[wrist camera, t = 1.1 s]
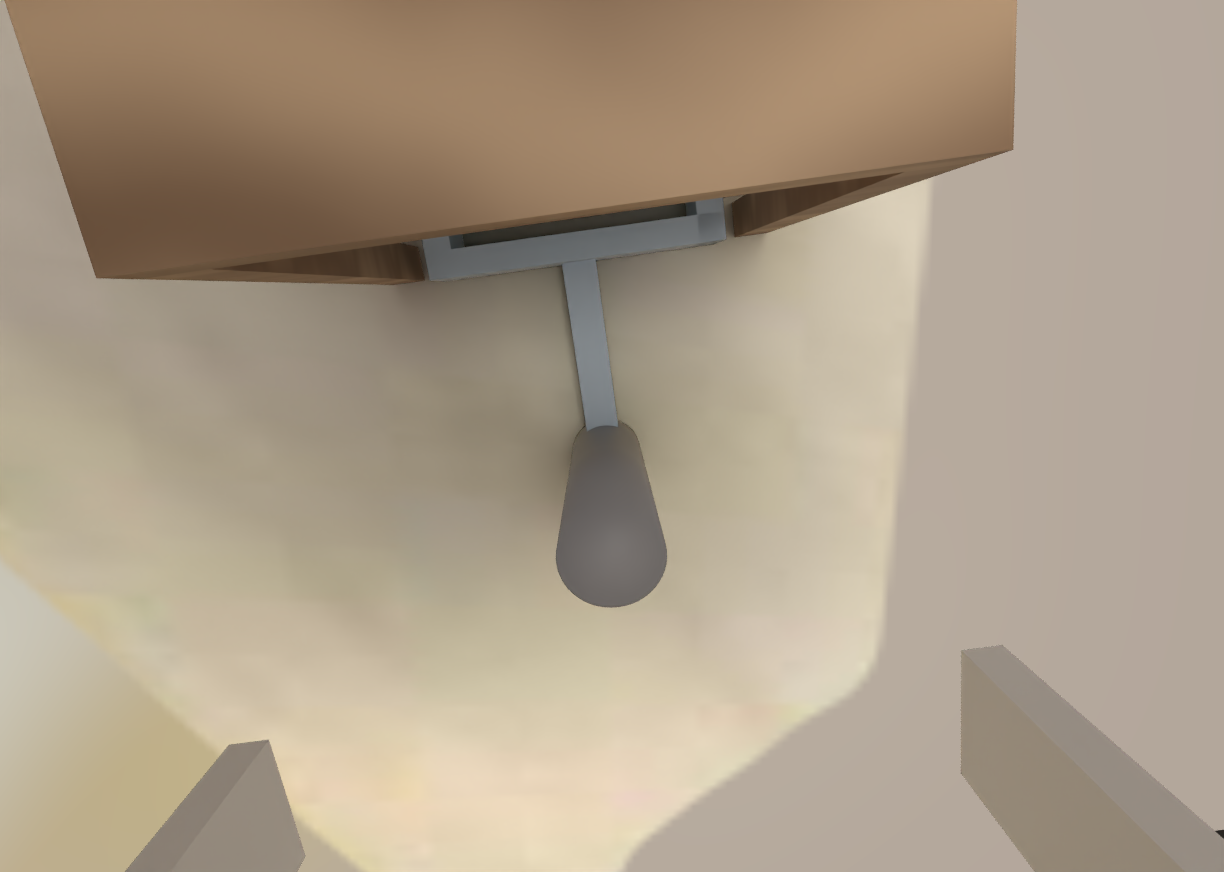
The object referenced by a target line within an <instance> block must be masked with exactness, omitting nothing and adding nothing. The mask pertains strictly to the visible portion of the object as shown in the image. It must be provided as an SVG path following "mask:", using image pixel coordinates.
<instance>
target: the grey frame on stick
mask: <svg viewBox="0 0 1224 872" xmlns="http://www.w3.org/2000/svg"><path fill="white" fill-rule="evenodd" d="M686 214H687V216H684V217H677V218H670V219H663V220H656V221H648V222H641V223H634V224H627V225H620V226H613V227H606V228H598V229H591V230H584V231H577V232H570V233H563V234H555V235H548V236H541V237H534V238H527V239H520V240H513V241H505V242H498V243H491V244H484V245H477V246H470V247H464V242H463V236H462V234H459V235H452V236H445V237H437V238H430V239H423V240H422V244H423V249H424V254H425V259H426V264H427V269H428V274H429V279H430V281H453V280H460V279H467V278H474V277H482V276H489V275H496V274H503V273H510V272H518V271H525V270H532V269H539V268H546V267H553V266H561V265H562V268H563V274H564V281H565V288H566V295H567V301H568V308H569V315H570V321H571V328H572V335H573V342H574V348H575V355H576V362H577V368H578V375H579V382H580V389H581V395H582V402H583V409H584V416H585V422H586V426H585V427H584V428H583V429H582V430H581V431H580V432H579V434H578V435H577V437H576V439H575V442H574V446H573V452H572V458H571V464H570V470H569V476H568V482H567V488H566V494H565V500H564V507H563V513H562V519H561V525H560V531H559V537H558V543H557V549H556V564H557V569H558V572H559V575H560V577H561V579H562V581H563V582H564V584H565V585H566V587H567V588H568V589H569V590H570V591H571V592H572V593H573V594H574V595H576V596H577V597H578V598H580V599H581V600H583V601H585V602H587V603H590V604H592V605H596V606H601V607H621V606H626V605H629V604H632V603H635V602H637V601H639V600H641V599H642V598H644V597H645V596H647V595H648V594H649V593H650V592H651V591H652V590H653V589H654V588H655V587H656V586H657V584H658V583H659V581H660V580H661V578H662V576H663V573H664V571H665V567H666V562H667V549H666V544H665V540H664V536H663V533H662V529H661V525H660V521H659V517H658V513H657V510H656V506H655V502H654V498H653V494H652V490H651V487H650V483H649V479H648V475H647V471H646V467H645V464H644V460H643V456H642V452H641V448H640V444H639V441H638V438H637V436H636V435H635V433H634V432H633V431H632V429H631V428H630V427H628V426H627V425H626V424H624V423H622V422H620V421H617V413H616V406H615V398H614V391H613V384H612V376H611V369H610V361H609V354H608V347H607V339H606V332H605V325H604V317H603V310H602V302H601V295H600V288H599V280H598V273H597V266H596V261H597V260H604V259H611V258H618V257H625V256H632V255H640V254H647V253H654V252H661V251H668V250H676V249H683V248H690V247H697V246H704V245H711V244H716V243H718V242H721V241H723V240H726V228H725V216H724V204H723V198H716V199H709V200H702V201H694V202H687V203H686Z"/></svg>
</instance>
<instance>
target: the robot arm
mask: <svg viewBox="0 0 1224 872" xmlns="http://www.w3.org/2000/svg"><path fill="white" fill-rule="evenodd" d="M961 774H962V776H963V777H964V778H965V780H966V781H967V782H968V784H969V785H970V786H971V787H972V789H973V790H974V792H975V793H976V794H977V796H978V797H979V798H980V799H981V801H982V802H983V803H984V805H985V806H986V808H987V809H988V810H989V811H990V813H991V814H992V816H993V817H994V818H995V820H996V821H997V822H998V824H999V825H1000V826H1001V827H1002V829H1003V830H1004V831H1005V833H1006V834H1007V836H1008V837H1009V838H1010V839H1011V841H1012V842H1013V843H1014V845H1015V846H1016V847H1017V849H1018V850H1019V851H1020V853H1021V854H1022V855H1023V857H1024V858H1025V859H1026V861H1027V862H1028V863H1029V865H1030V866H1031V867H1032V869H1033V870H1034V871H1035V872H1224V830H1218V831H1214V830H1213V829H1212V828H1211V827H1210V826H1208V825H1207V824H1206V823H1205V822H1204V821H1203V820H1201V819H1200V818H1199V817H1198V816H1197V815H1196V814H1195V813H1194V812H1192V811H1191V810H1190V809H1189V808H1188V807H1187V806H1186V805H1184V804H1183V803H1182V802H1181V801H1180V800H1179V799H1178V798H1176V797H1175V796H1174V795H1173V794H1172V793H1171V792H1170V791H1168V790H1167V789H1166V788H1165V787H1164V786H1163V785H1162V784H1160V783H1159V782H1158V781H1157V780H1156V779H1155V778H1153V777H1152V776H1151V775H1150V774H1149V773H1148V772H1147V771H1146V770H1144V769H1143V768H1142V767H1141V766H1140V765H1139V764H1138V763H1137V762H1135V761H1134V760H1133V759H1132V758H1131V757H1130V756H1129V755H1127V754H1126V753H1125V752H1124V751H1123V750H1122V749H1121V748H1119V747H1118V746H1117V745H1116V744H1115V743H1114V742H1112V741H1111V740H1110V739H1109V738H1108V737H1107V736H1106V735H1105V734H1103V733H1102V732H1101V731H1100V730H1099V729H1098V728H1096V727H1095V726H1094V725H1093V724H1092V723H1091V722H1090V721H1089V720H1087V719H1086V718H1085V717H1084V716H1083V715H1082V714H1081V713H1079V712H1078V711H1077V710H1076V709H1075V708H1074V707H1073V706H1071V705H1070V704H1069V703H1068V702H1067V701H1066V700H1065V699H1063V698H1062V697H1061V696H1060V695H1059V694H1058V693H1057V692H1055V691H1054V690H1053V689H1052V688H1051V687H1050V686H1049V685H1047V684H1046V683H1045V682H1044V681H1043V680H1042V679H1041V678H1039V677H1038V676H1037V675H1036V674H1035V673H1034V672H1033V671H1031V670H1030V669H1029V668H1028V667H1027V666H1026V665H1025V664H1024V663H1022V662H1021V661H1020V660H1019V659H1018V658H1016V656H1014V655H1013V654H1012V653H1011V652H1010V651H1009V650H1007V649H1006V648H1005V647H1004V646H1003V645H999V646H991V647H984V648H976V649H968V650H962V651H961ZM304 858H305V853H304V850H303V847H302V844H301V840H300V837H299V834H298V831H297V828H296V824H295V821H294V818H293V815H292V812H291V809H290V805H289V802H288V799H287V796H286V793H285V790H284V786H283V783H282V780H281V777H280V774H279V771H278V767H277V764H276V761H275V758H274V755H273V752H272V748H271V745H270V742H269V740H263V741H255V742H247V743H240V744H232V745H228V747H227V748H226V749H225V750H224V752H223V753H222V754H221V755H220V756H219V758H218V759H217V760H216V761H215V763H214V764H213V765H212V766H211V767H210V769H209V770H208V771H207V772H206V773H205V775H204V776H203V777H202V779H201V780H200V781H199V782H198V783H197V784H196V786H195V787H194V788H193V789H192V791H191V792H190V793H189V794H188V795H187V797H186V798H185V799H184V800H183V802H182V803H181V804H180V805H179V806H178V808H177V809H176V810H175V811H174V812H173V814H172V815H171V816H170V817H169V819H168V820H167V821H166V822H165V823H164V825H163V826H162V827H161V828H160V829H159V831H158V832H157V833H156V834H155V836H154V837H153V838H152V839H151V841H150V842H149V843H148V844H147V845H146V846H145V848H144V849H143V850H142V851H141V853H140V854H139V855H138V856H137V857H136V859H135V860H134V861H133V862H132V863H131V865H130V866H129V867H128V869H127V870H126V871H125V872H297V871H298V870H299V868H300V866H301V864H302V862H303V860H304Z"/></svg>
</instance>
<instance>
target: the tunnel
mask: <svg viewBox="0 0 1224 872" xmlns="http://www.w3.org/2000/svg"><path fill="white" fill-rule="evenodd" d="M5 3H6V6H7V9H8V12H9V15H10V19H11V22H12V25H13V28H14V31H15V34H16V37H17V40H18V43H19V46H20V49H21V52H22V55H23V58H24V61H25V64H26V67H27V70H28V73H29V76H30V79H31V82H32V85H33V88H34V91H35V94H36V97H37V100H38V103H39V106H40V109H41V112H42V115H43V118H44V121H45V124H46V127H47V130H48V133H49V136H50V139H51V142H52V145H53V148H54V151H55V154H56V158H57V161H58V164H59V167H60V170H61V173H62V176H63V179H64V182H65V185H66V188H67V191H68V194H69V197H70V200H71V203H72V206H73V209H74V212H75V215H76V218H77V221H78V224H79V227H80V230H81V233H82V236H83V239H84V242H85V245H86V248H87V251H88V254H89V257H90V260H91V263H92V266H93V269H94V272H95V275H96V278H111V279H156V280H201V281H246V282H291V283H336V284H381V285H395V284H402V283H410V282H417V281H424V280H425V279H424V274H423V269H422V264H421V259H420V254H419V249H418V247H415V246H411V245H407V244H402V242H409V241H416V240H423V239H430V238H437V237H445V236H452V235H459V234H466V233H473V232H480V231H487V230H495V229H502V228H509V227H516V226H523V225H530V224H537V223H544V222H552V221H559V220H566V219H573V218H580V217H587V216H594V215H602V214H609V213H616V212H623V211H630V210H637V209H644V208H652V207H659V206H666V205H673V204H680V203H687V202H694V201H702V200H709V199H716V198H723V197H730V196H737V195H744V194H746V195H744V196H742V197H741V198H739V199H738V200H736V201H735V202H733V203H732V209H733V222H734V234H735V237H740V236H747V235H754V234H761V233H768V232H770V231H773V230H776V229H779V228H782V227H785V226H788V225H791V224H794V223H797V222H800V221H803V220H806V219H809V218H812V217H815V216H818V215H821V214H824V213H827V212H830V211H833V210H836V209H839V208H842V207H845V206H848V205H851V204H853V203H856V202H859V201H862V200H865V199H868V198H871V197H874V196H877V195H880V194H883V193H886V192H889V191H892V190H895V189H898V188H901V187H904V186H907V185H910V184H913V183H916V182H919V181H922V180H925V179H928V178H931V177H934V176H936V175H939V174H942V173H945V172H948V171H951V170H954V169H957V168H960V167H963V166H966V165H969V164H972V163H975V162H978V161H981V160H984V159H986V158H990V157H993V156H996V155H999V154H1002V153H1005V152H1007V151H1011V150H1013V136H1014V135H1013V134H1014V95H1015V56H1016V55H1015V54H1016V14H1017V0H5Z"/></svg>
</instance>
